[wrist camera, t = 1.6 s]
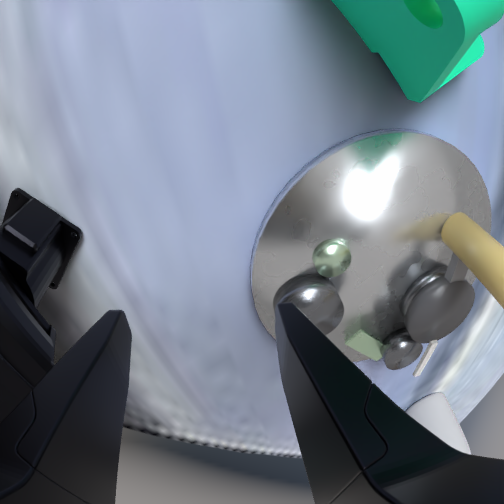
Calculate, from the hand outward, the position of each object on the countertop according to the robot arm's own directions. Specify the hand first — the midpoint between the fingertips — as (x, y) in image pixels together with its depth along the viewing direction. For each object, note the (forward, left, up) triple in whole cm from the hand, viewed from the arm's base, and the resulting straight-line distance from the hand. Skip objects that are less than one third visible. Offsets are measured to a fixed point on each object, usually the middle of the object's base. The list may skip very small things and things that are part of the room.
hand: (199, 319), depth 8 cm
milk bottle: (-9, -47, -13) cm, 50 cm away
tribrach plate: (+2, -15, -13) cm, 20 cm away
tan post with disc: (+4, -21, -11) cm, 24 cm away
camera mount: (+17, -1, -13) cm, 21 cm away
